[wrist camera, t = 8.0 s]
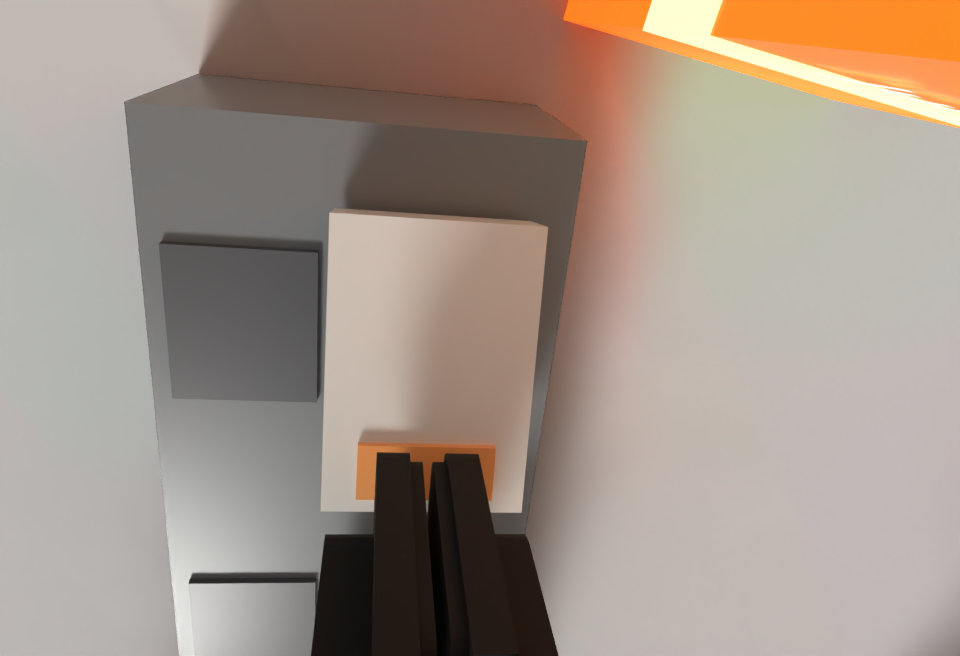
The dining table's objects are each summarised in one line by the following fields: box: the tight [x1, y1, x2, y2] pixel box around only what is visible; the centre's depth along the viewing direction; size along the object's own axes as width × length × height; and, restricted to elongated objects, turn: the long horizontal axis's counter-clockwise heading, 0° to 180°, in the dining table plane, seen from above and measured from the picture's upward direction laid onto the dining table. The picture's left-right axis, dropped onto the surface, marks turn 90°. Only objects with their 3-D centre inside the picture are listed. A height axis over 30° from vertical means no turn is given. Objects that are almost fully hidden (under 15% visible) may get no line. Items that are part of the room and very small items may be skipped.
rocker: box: [321, 208, 548, 513], centre depth 13 cm, size 4×5×2 cm
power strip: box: [124, 74, 587, 656], centre depth 21 cm, size 8×30×6 cm, turn 174°
